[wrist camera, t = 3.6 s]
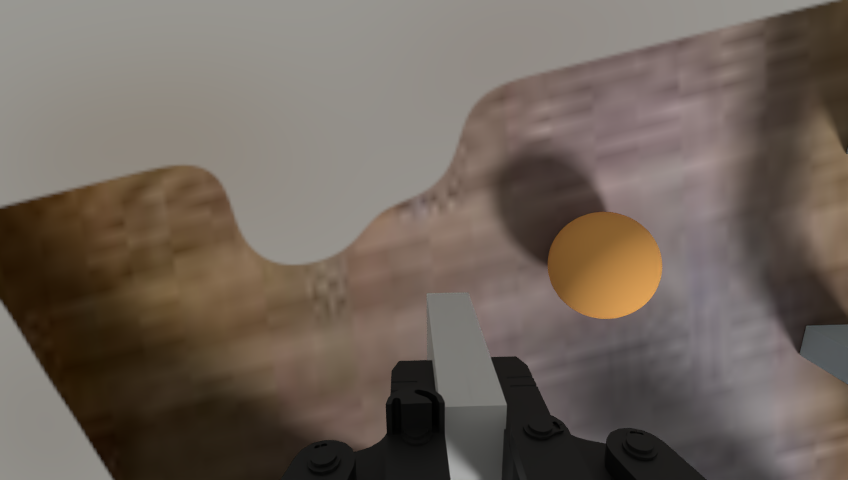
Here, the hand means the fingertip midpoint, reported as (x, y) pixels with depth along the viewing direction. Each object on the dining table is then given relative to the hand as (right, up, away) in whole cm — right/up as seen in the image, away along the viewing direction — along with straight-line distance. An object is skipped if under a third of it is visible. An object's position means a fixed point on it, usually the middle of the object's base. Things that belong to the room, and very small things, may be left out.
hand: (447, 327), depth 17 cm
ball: (+8, +2, +7) cm, 11 cm away
